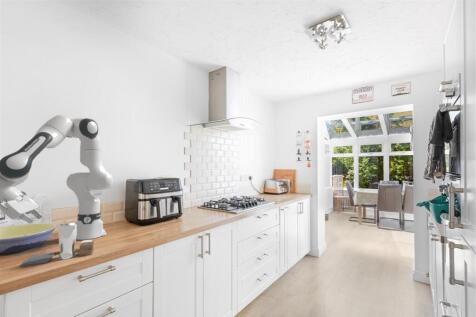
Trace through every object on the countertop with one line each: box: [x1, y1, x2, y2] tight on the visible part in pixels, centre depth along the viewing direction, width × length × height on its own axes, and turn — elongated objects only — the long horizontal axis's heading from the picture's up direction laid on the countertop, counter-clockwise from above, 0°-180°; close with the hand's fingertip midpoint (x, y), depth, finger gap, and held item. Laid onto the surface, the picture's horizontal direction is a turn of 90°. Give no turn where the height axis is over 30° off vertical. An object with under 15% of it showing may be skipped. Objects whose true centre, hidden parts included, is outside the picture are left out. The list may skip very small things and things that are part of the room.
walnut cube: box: [78, 240, 95, 257], centre depth 112 cm, size 5×5×5 cm
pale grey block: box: [79, 239, 93, 245], centre depth 118 cm, size 6×4×4 cm, turn 23°
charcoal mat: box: [19, 252, 56, 267], centre depth 104 cm, size 12×9×1 cm
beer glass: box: [57, 222, 77, 260], centre depth 108 cm, size 7×7×15 cm
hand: (36, 219), depth 104 cm, fingers open, 8 cm apart
